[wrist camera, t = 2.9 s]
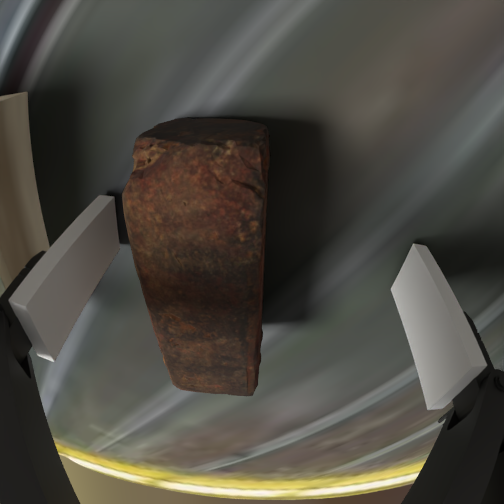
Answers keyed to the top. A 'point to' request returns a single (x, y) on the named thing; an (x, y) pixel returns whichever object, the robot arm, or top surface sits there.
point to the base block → (18, 191)
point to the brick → (202, 247)
